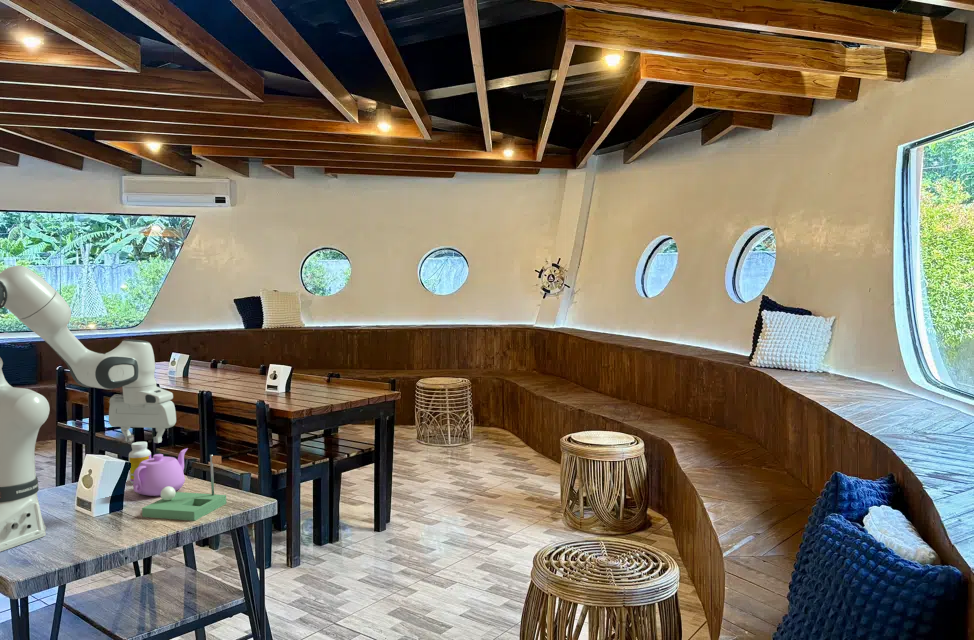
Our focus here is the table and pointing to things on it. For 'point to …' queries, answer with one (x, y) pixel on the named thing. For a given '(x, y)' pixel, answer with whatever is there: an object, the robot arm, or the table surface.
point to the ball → (168, 493)
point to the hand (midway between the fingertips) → (143, 442)
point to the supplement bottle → (138, 456)
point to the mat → (184, 506)
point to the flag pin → (212, 460)
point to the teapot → (159, 474)
